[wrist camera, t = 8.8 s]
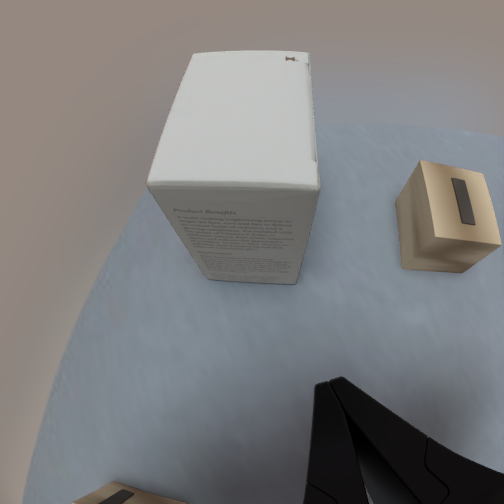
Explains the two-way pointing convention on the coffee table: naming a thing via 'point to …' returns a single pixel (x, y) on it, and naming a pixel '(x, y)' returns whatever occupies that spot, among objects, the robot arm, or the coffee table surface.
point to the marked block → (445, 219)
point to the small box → (241, 164)
